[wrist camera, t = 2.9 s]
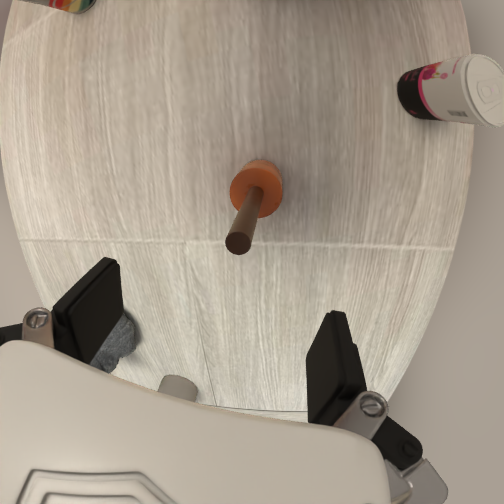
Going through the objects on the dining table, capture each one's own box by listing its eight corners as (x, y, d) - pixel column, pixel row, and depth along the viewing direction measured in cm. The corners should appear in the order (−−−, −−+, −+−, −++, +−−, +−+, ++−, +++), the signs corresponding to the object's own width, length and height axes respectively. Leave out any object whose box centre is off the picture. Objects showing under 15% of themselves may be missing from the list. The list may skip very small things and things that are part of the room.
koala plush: (61, 304, 48) (11, 363, 31) (103, 276, 43) (38, 353, 25) (110, 360, 54) (74, 424, 37) (161, 346, 49) (123, 430, 31)
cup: (155, 375, 54) (140, 410, 45) (185, 373, 52) (172, 412, 43) (175, 396, 57) (163, 430, 48) (204, 395, 55) (194, 432, 46)
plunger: (266, 151, 31) (249, 184, 15) (290, 188, 33) (298, 257, 17) (229, 175, 33) (179, 230, 17) (254, 209, 35) (228, 292, 19)
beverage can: (387, 77, 25) (453, 57, 11) (426, 66, 23) (498, 50, 10) (408, 124, 27) (481, 136, 14) (445, 112, 25) (521, 120, 12)
